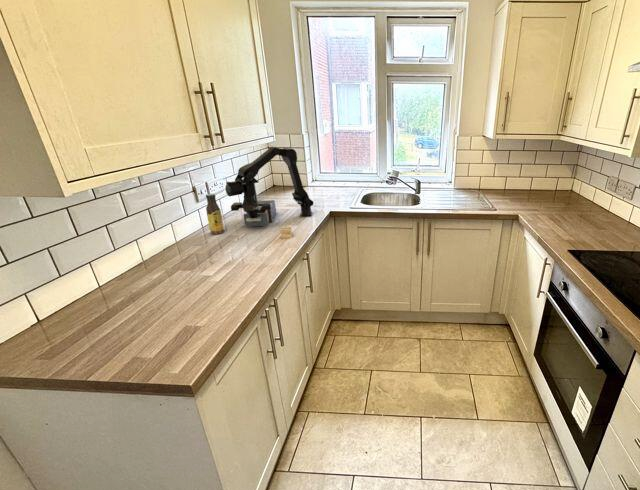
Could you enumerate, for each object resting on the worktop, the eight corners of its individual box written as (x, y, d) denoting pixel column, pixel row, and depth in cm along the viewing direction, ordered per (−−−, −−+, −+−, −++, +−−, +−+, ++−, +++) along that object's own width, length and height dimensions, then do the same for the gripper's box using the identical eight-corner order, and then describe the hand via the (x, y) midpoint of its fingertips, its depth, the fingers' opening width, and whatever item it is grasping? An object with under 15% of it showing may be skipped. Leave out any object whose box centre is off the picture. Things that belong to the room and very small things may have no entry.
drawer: (266, 228, 163) (264, 216, 161) (243, 230, 161) (240, 217, 159) (272, 217, 180) (271, 206, 178) (251, 218, 178) (249, 206, 175)
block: (282, 235, 158) (281, 226, 157) (292, 234, 159) (291, 226, 158) (281, 238, 154) (280, 230, 153) (291, 237, 155) (289, 229, 154)
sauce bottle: (218, 235, 157) (210, 196, 149) (207, 234, 158) (198, 195, 150) (227, 230, 163) (220, 193, 155) (217, 229, 164) (209, 192, 156)
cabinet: (272, 222, 175) (270, 207, 172) (248, 223, 173) (245, 208, 170) (276, 213, 189) (274, 200, 185) (254, 214, 186) (251, 201, 183)
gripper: (224, 197, 149) (230, 228, 155) (266, 196, 152) (270, 226, 158) (231, 191, 159) (237, 220, 165) (270, 190, 162) (274, 219, 168)
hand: (254, 221), depth 164 cm, fingers closed, pressing on drawer
